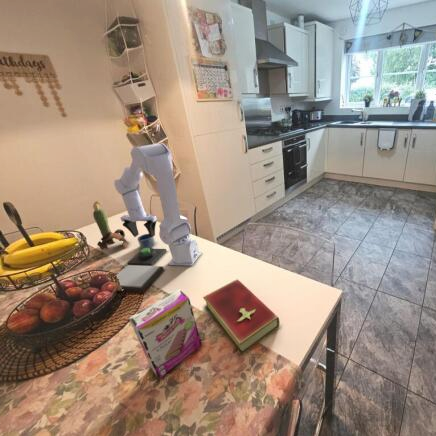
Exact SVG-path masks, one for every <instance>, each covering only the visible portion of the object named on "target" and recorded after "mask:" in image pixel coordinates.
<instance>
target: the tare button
mask: <svg viewBox="0 0 436 436" xmlns="http://www.w3.org/2000/svg"><path fill="white" fill-rule="evenodd" d="M140 251H141V253H142V255H146V254H148V253H150V249H149V248H144V249H142V248H141V250H140Z"/></svg>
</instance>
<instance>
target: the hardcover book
mask: <svg viewBox="0 0 436 436" xmlns="http://www.w3.org/2000/svg"><path fill="white" fill-rule="evenodd" d="M202 298H203V300H204V301H205V302H206V305H205V306H204V307H205V308H206V310H207V311H208V312H209V313H210V315H211V316H212V318H213V319H214V320H215V321H216V323H217V325H219V327H220V328H221V329H222V331H223V333H225V335H226V336H227V338H228V339H229V340H230V341H231V343H232V344H233V345H234V347H235V348H236V349H237V350H238V352H239V353H240V355H243V354H245V353H246V352H247V351H249V350H250V349H252V348H253V347H254V346H256V345H257V344H258V343H260V342H261V341H262V340H264V339H265V338H266V337H267V336H269V335H270V334H272V333H273V332H275V331H276V330H277V329H279V327H280V317H279V316H278V315H277V314H276V313H275V312H273V311H272V310H271V309H270V308H269V307H268V306H267V305H266V304H265V303H264V302H263V301H261V299H260V298H258V297H257V296H256V295H255V294H254V293H253V292H252V291H251V290H250V289H249V288H248V287H247V286H245V284H243V283H242V282H241V280H239V279H238V278H236V279H234V280H232V281H231V282H229V283H227V284H225V285H223V286H221V287H220V288H217V289H215V290H213V291H211V292H210V293H208V294H206V295H203V296H202Z"/></svg>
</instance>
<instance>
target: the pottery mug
mask: <svg viewBox="0 0 436 436" xmlns="http://www.w3.org/2000/svg"><path fill="white" fill-rule="evenodd" d="M125 233H126V232H125V231H124V229H123V230H122V229H121V228H118V229H116V230H114V232H112V231H111V232H108V233H107V234H106V235H104V236H102V237H101V238H100V241H98V242H97V246H98V247H99V249H100V250H101V251H102V250H105V249H107V250H109V247H108V245H114V244H116V242H115V241H114V239H115V240H117V241H119V242H122V244H121V246H122V247H123V248H124V249H126V248H127V247H128V246H129V242H128V240H127V239H126V238H125V236H126V234H125Z"/></svg>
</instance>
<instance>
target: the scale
mask: <svg viewBox="0 0 436 436" xmlns="http://www.w3.org/2000/svg"><path fill="white" fill-rule="evenodd" d="M164 271H165V270H164V267H163V265H162V266H161V265H153V266H137V265H128V264H127V265H126V266H125V267H124V268H123V269H122V270H120V271H119V272H118V273H117V274H115V276H117V278H118V279H119V282H120V286H122V289H124V290H123V292H122V293H128V294H129V293H133V294H144V293H146V291H147V290H148V289H149V287H150V286H152V284H153V283H154V282H155V281H156V280H157V279H158V278H159V276H160V275H161V274H162V273H163V272H164Z"/></svg>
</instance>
